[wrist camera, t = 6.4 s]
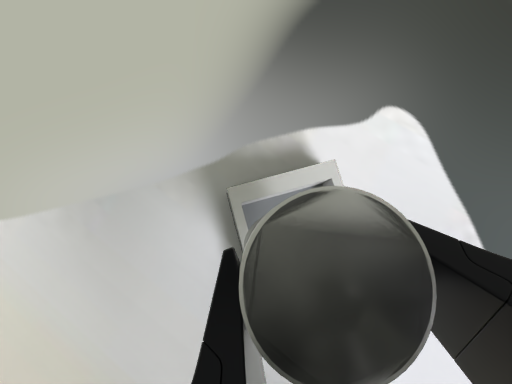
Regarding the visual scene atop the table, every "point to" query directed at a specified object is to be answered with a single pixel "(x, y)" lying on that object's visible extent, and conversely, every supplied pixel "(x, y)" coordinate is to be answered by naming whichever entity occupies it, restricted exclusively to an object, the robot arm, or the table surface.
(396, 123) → the table surface
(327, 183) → the white open box
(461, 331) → the robot arm
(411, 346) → the gray cylindrical canister
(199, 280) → the table surface
